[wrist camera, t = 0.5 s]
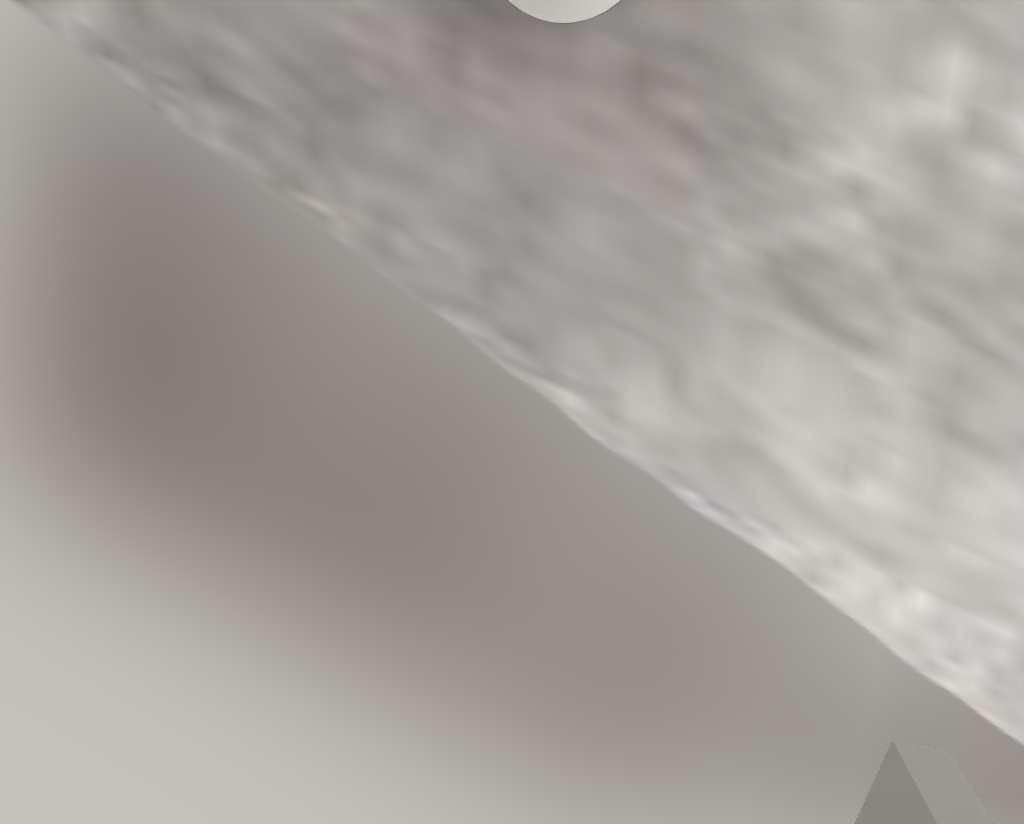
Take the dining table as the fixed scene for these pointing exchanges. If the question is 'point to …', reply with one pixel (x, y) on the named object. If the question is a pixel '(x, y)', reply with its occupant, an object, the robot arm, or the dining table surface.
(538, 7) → the champagne flute
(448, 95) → the dining table surface
